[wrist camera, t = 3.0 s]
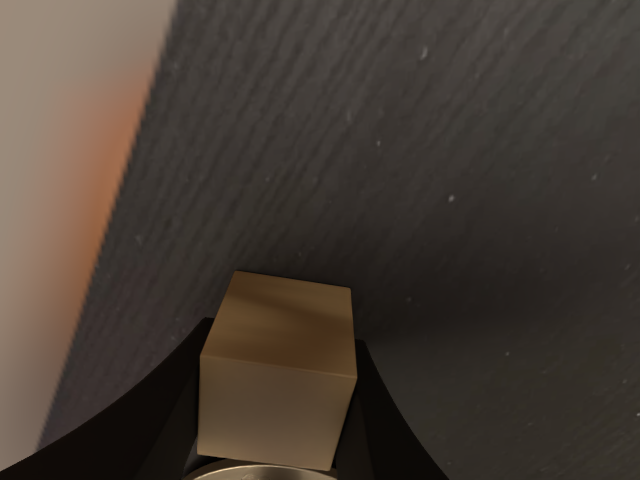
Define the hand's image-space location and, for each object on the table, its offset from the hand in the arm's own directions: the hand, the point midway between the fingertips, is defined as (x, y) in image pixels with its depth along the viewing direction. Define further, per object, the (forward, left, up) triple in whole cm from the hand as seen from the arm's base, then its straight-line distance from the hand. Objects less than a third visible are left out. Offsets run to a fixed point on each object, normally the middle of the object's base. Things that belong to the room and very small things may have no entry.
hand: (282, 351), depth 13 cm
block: (0, 0, -1) cm, 1 cm away
